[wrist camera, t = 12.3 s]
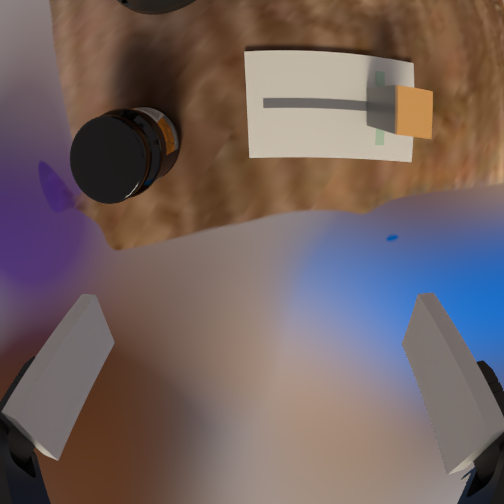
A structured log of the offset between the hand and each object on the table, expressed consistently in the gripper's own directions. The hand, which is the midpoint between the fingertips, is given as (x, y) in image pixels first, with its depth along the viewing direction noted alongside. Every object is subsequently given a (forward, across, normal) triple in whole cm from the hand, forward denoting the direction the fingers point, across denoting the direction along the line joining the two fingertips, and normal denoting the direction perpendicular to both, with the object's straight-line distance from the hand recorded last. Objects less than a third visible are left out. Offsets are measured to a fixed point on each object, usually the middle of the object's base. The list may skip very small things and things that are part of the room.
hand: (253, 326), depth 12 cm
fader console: (+31, +9, +8) cm, 33 cm away
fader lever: (+29, +15, +8) cm, 34 cm away
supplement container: (+31, -16, +4) cm, 35 cm away
